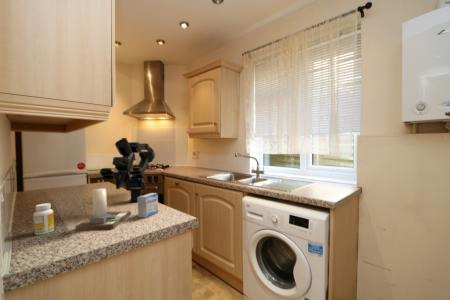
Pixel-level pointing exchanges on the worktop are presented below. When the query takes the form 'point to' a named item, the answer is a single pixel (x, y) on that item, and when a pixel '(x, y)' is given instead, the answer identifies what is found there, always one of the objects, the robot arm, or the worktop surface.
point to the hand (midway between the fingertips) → (117, 188)
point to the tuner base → (107, 225)
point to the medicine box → (147, 205)
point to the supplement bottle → (43, 219)
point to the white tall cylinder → (100, 207)
